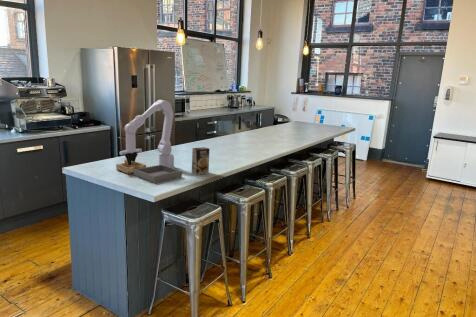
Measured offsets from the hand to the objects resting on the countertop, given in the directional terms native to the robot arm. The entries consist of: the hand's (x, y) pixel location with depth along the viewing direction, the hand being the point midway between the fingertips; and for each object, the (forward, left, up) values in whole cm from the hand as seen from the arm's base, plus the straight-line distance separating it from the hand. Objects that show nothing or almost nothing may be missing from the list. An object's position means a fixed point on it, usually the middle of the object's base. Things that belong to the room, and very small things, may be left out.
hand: (131, 164), depth 226 cm
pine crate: (0, 0, -3) cm, 3 cm away
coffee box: (-30, +31, -4) cm, 43 cm away
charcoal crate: (-5, +21, -4) cm, 22 cm away
